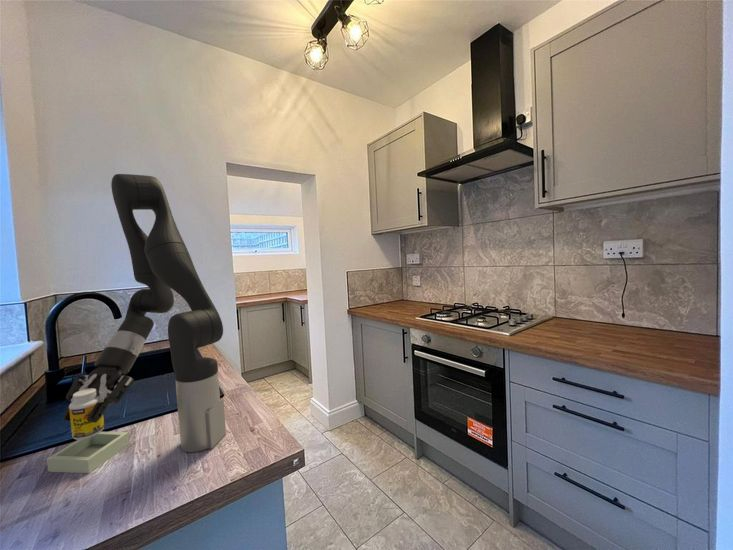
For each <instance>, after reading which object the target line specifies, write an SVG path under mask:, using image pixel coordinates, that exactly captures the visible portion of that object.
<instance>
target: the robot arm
mask: <svg viewBox="0 0 733 550" xmlns="http://www.w3.org/2000/svg"><path fill="white" fill-rule="evenodd" d="M110 184H111V193H112V198H113V202H114V204H115V207H116V212H117V214H118V215H117V216H118V218H119V222H120V225H121V228H122V231H123V234H124V237H125V239H126V240H125V241H126V243H127V246H128V249H129V255H130V258H131V265H132V271H133V277H134V280H135V281H136V282H137V283H140V284H143V285H145V286H147V287H148V288H141V289H139V290H137V291H135V292H134V293H133V294H132V295H131V297H130V299H129V303H128V306H127V310H126V314H125V317H124V319H123V321H122V322H121V324H120V326H119V327H118V329H117V330H116V332H115V333H114V334H113V336H112V337H111V338H110V339H109V340H108V342H107V344H106V345H105V347H104V348H103V349H102V351H101V352H100V354H99V355H98V357H97V359H96V360H95V362H94V369H93V370H92V371H91V372H90V373H89V374H85V375H83V374H81V373H79V374H76V376H75V378H74V379H73V382H72V384H71V386H70V388H69V390H68V392H67V394H66V396H65V399H66V400H69V401H70V404H71V403H72V402H73V394H74V393H76V392H78V391H81V390H84V389H89V388H95V389H96V393H97V394H99V396H100V397H99V403H96V405H95V407H94V408H93V410H92V412H91V413H90V415H89V417H88V418H87V421H90V422H97V421H98V420H99V419H100V418H101V416H102V415H103V416H104V413H105V411H106V410H107V408H108V406H110V405H111V404H118V403H119V402H120V401H121V399H122V398H123V397H124V396H125V394H126V393H127V391H128V390H129V388H130V387H131V386H132V384H133V383H134V378H133V377H131V376H128V375H126V374H128V373H129V372H130V370H131V369H132V367H133V366H134V363H135V362H136V360H137V358H138V356H139V355H140V353H141V351H142V349H143V347H144V345H145V343H146V341H147V338H148V337H149V335H150V334H151V332H152V330H153V328H154V325H155V323H154V321H153V319H152V318H150V317H148V316H146V314H147V313H152V314H166V313H168V312H169V311H171V310H172V308H173V306H174V303H175V297H174V293H173V291H174V292H176V293H177V294H178V295H179V296H180V297H182V298H183V300H184V301H185V302H186V303H187V305H188V307H189V308H190V310H191V311H189V310H188V311H185V312H179V313H177V314H173V315H172V316H171V317H170V318H169V321H168V323H167V336H168V342H169V350H170V357H171V364H172V369H173V371H174V377H175V378H174V379H175V391H176V393H175V394H176V402H177V403H176V404H177V416H178V417H177V418H178V428H179V439H180V440H179V441H180V449H181V450H182V451H183V452H186V453H196V452H201V451H206V450H210V449H214V447H215V446H216V445H217V444H219V442H220V441H221V440H222V439H223V437H224V436H225V435H226V434H227V430H226V416H225V415H226V412H225V400H224V399H223V398H220V397H221V396H220V395H221V394H220V379H219V365H218V364H219V363H218V361H217V360H216V359H215V358H213V357H203V356H200V357H199V356H197V352H196V349H199V348H203V347H207V346H209V345H212V344H215V343H218V342H219V341H220V340H221V339H222V337H223V336H224V335H223V334H224V325H223V322H222V318H221V316H220V314H219V312H218V309H217V308H216V306H215V305H214V303H213V301H212V299H211V298H210V296H209V294H208V292H207V291H206V288H205V286H204V284H203V282H202V281H201V279H200V276H199V274H198V273H197V270H196V268H195V267H196V266H195V265H194V262H193V260H192V257H191V254H190V252H189V251H188V248H187V245H186V244H185V242H184V240H183V237H182V235H181V233H180V230H179V227H178V226H177V223H176V221H175V218H174V216H173V213H172V210H171V207H170V203H169V201H168V198H167V195H166V192H165V189H164V187H163V185H162V182H161V181H160V180H159V178H157V177H155V176H151V175H147V174H146V175H144V174H128V173H116V174H114V175H113V177H112V178H111V183H110ZM135 210H136V211H137V210H139V211H140V210H146V211H147V210H148V211H149V210H151V211H153V213H154V215H155V219H154V223H153V225H152V228H151V229H150V232H149V234H148V235H147V234H146V233H145V232H144V231H143V229H142V228H141V227H140V226H139V224H138V222H137V220H136V218H135V215H134V211H135ZM172 290H173V291H172ZM61 418H62V420H63V421H65V422H70V413H69V406H68V407H67V408H66V410H65V412H64V413H63V415H62V417H61Z"/></svg>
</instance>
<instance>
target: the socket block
mask: <svg viewBox="0 0 733 550" xmlns="http://www.w3.org/2000/svg"><path fill="white" fill-rule="evenodd" d="M129 445H130V434H129V432H127V431H123V432H122V431H101V432H100V433H98V434H96V435H95V436H92V437H90V438H86V439H82V440H75V441H74V442H72V443H71V444H69V445H67V446H65V447H64V448H62V449H60V450H59V451H57V452H56V453H54V454H52V455H50V456H48V457H47V458H46V464H47V472H50V473H73V474H90V473H92V472H93V471H94V470H96V469H97V468H98V467H100V466H102V465H103V464H104V463H106V462H107V461H108V460H109V459H112V457H114V456H115V455H117V454H118V453H120V452H121V451H122V450H123V449H125V448H126V447H127V446H129Z"/></svg>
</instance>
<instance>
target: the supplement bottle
mask: <svg viewBox="0 0 733 550" xmlns="http://www.w3.org/2000/svg"><path fill="white" fill-rule="evenodd" d="M99 397H100V394H98V392H97V393H96V389H95V388H87V389H84V390H81V391H78V392H76V391H75V393H74V394H73V402H72V403H71V402H70V404H69V405H68V407H69V413H70V421H69V422H70V429H71V437H72V439H74V440H75V441H77V440H82V439H86V438H90V437H92V436H95V435H96V434H98V433H100V432H103V430H104V428H105V421H104V420H105V419H104V414H103V415H102V416H101V418H100V419H99V420H98V421H97V422H90V421H87V418H88V417H89V415H90V413H91V412H92V410H93V408H94V407H95V405H96V403H99Z"/></svg>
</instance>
